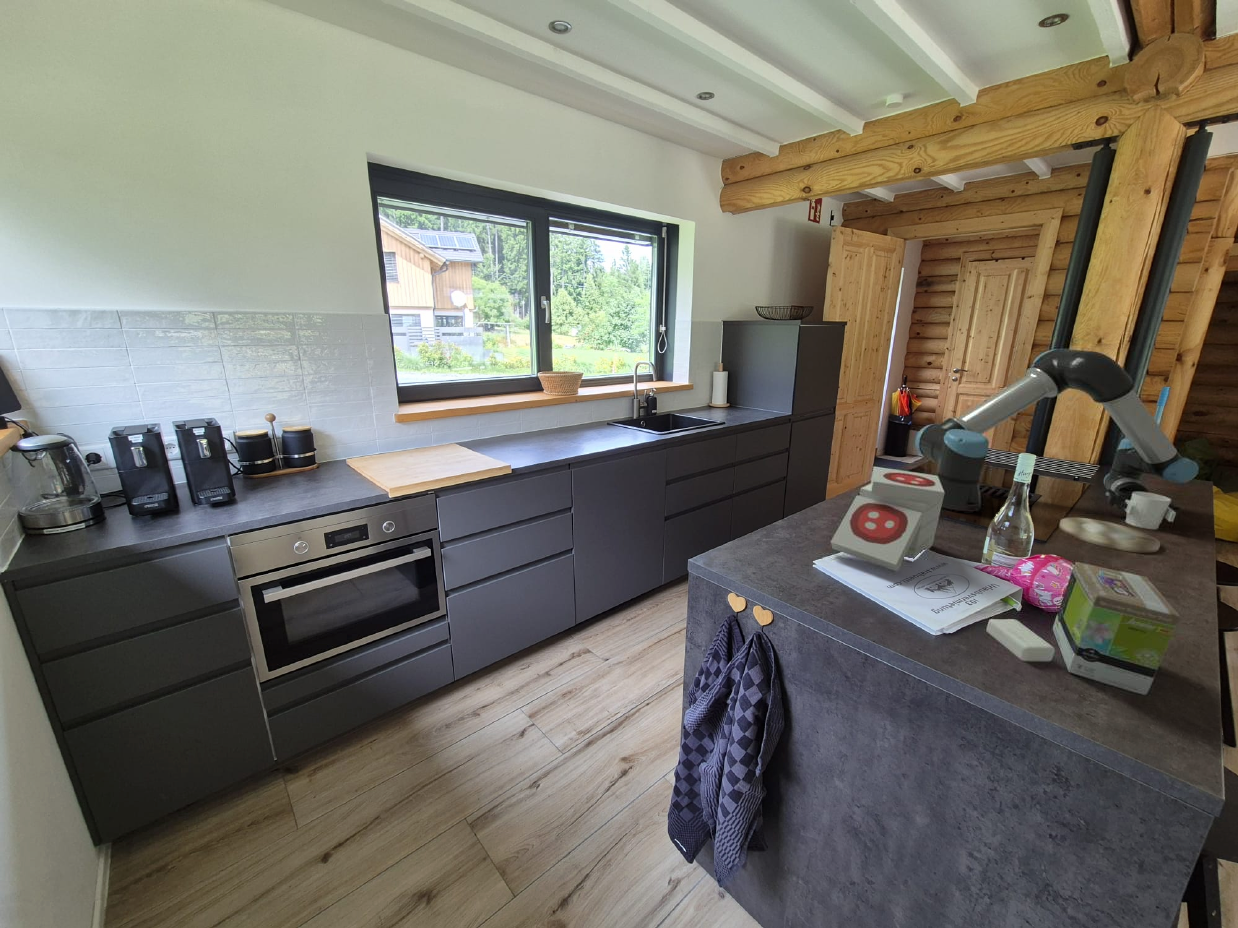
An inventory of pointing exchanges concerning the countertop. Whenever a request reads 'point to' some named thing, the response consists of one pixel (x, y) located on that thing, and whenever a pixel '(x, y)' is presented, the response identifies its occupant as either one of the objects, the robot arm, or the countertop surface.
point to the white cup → (1147, 510)
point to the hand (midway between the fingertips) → (1152, 513)
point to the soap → (1020, 640)
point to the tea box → (1114, 627)
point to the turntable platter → (1109, 535)
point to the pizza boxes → (891, 518)
